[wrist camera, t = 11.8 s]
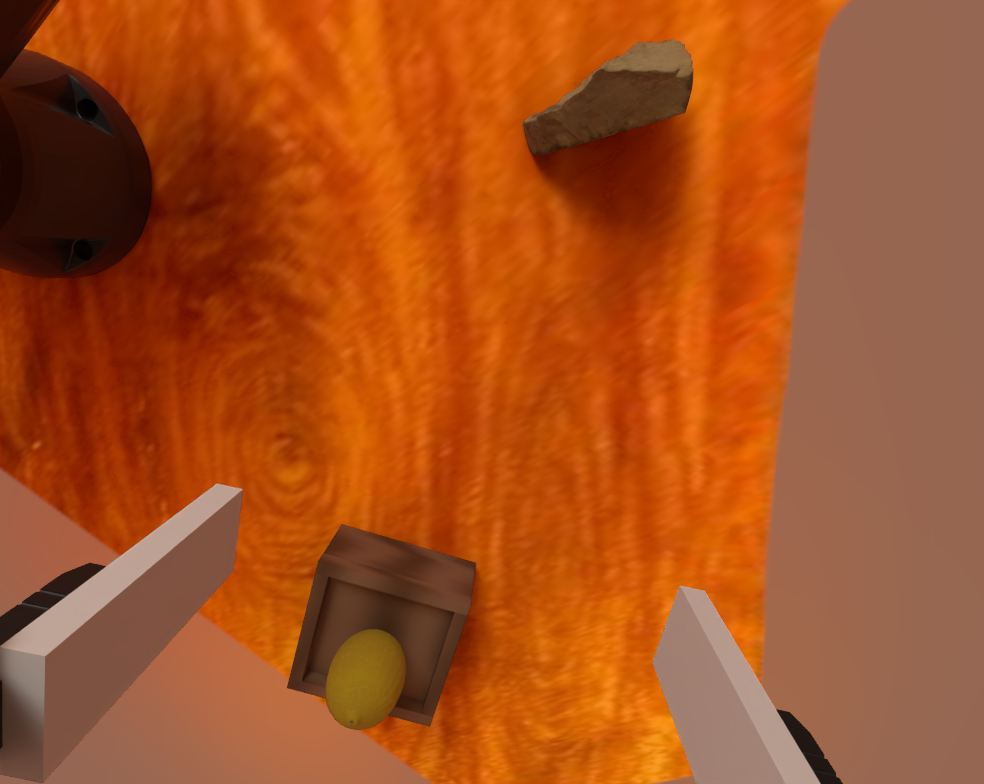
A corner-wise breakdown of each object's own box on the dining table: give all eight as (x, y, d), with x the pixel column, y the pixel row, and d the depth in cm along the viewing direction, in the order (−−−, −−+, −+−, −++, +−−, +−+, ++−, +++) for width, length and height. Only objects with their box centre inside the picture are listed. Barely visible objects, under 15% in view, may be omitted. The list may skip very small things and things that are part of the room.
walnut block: (314, 634, 48) (287, 688, 42) (343, 521, 45) (318, 561, 39) (439, 669, 48) (429, 726, 42) (475, 559, 46) (471, 604, 40)
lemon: (409, 605, 41) (387, 685, 33) (417, 664, 42) (398, 754, 35) (340, 609, 41) (303, 689, 34) (351, 668, 43) (317, 758, 35)
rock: (511, 192, 36) (659, 206, 34) (505, 71, 28) (698, 83, 27) (535, 86, 40) (669, 94, 39) (536, -45, 32) (704, -40, 31)
